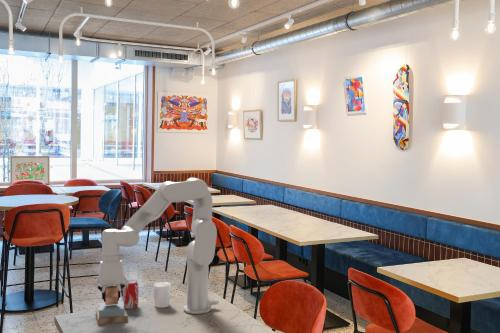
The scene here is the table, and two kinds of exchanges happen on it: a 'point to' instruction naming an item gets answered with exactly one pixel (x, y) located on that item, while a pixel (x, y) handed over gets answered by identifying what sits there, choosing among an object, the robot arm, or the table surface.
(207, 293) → the robot arm
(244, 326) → the table surface
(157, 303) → the white cup
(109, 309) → the top block
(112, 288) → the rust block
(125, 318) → the base block
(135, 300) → the soda can
